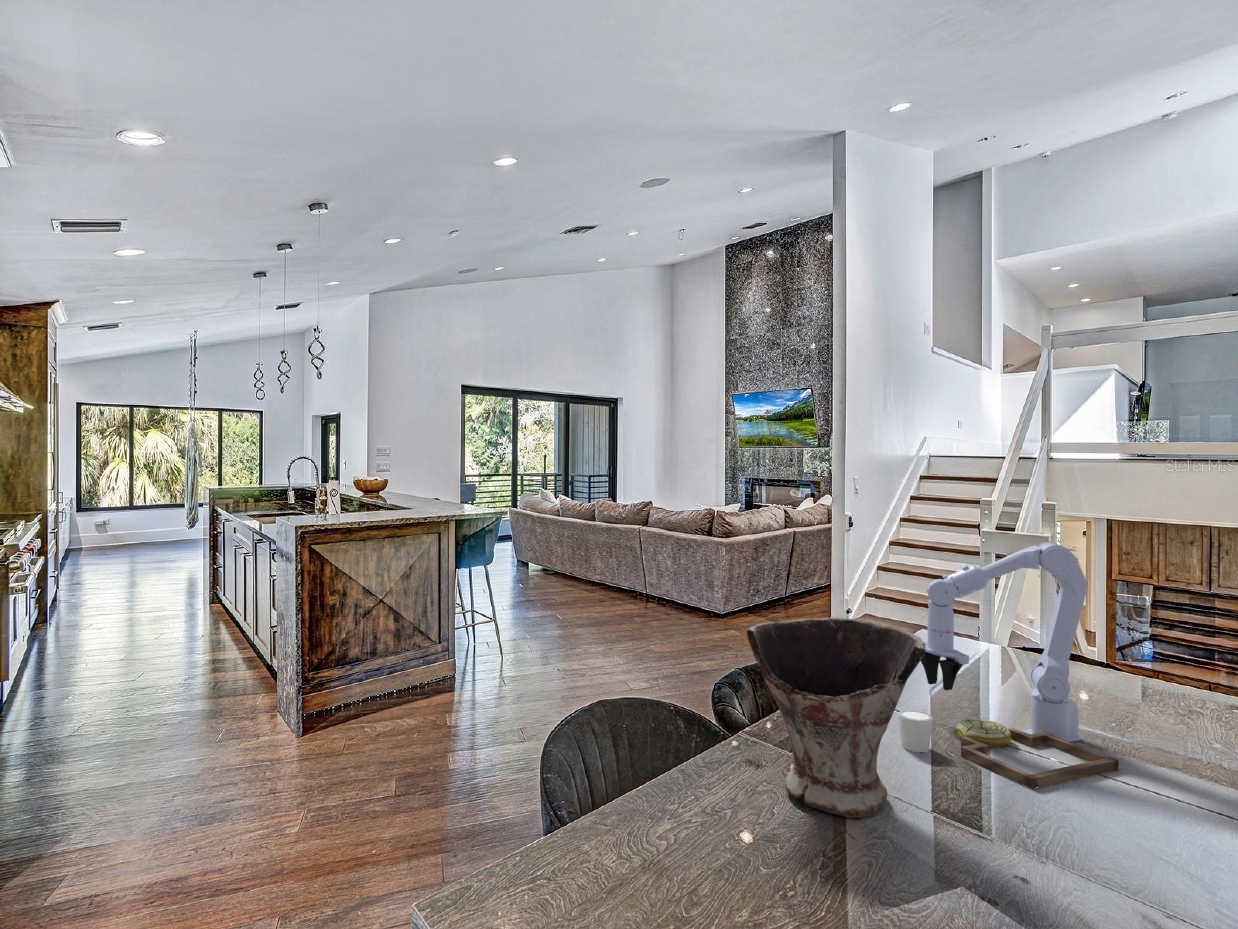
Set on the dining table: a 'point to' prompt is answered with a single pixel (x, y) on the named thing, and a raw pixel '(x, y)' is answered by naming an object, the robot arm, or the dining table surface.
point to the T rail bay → (1095, 767)
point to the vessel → (836, 703)
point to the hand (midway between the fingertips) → (940, 686)
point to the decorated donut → (984, 732)
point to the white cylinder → (915, 730)
